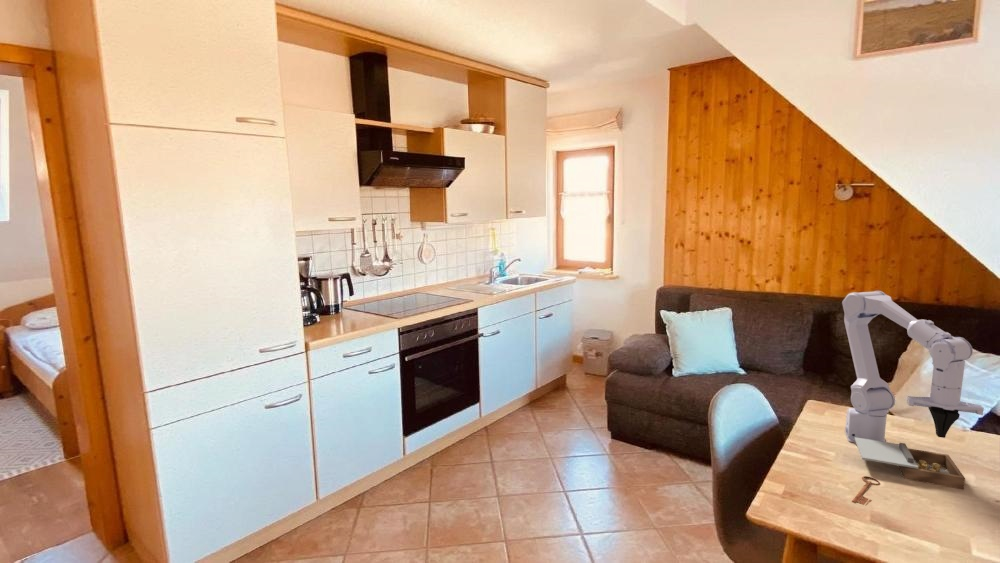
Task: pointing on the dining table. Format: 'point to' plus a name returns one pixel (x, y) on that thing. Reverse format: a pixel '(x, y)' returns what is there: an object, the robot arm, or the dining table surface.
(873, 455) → the lid
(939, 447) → the dining table surface
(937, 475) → the box
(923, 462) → the dice set
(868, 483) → the key
